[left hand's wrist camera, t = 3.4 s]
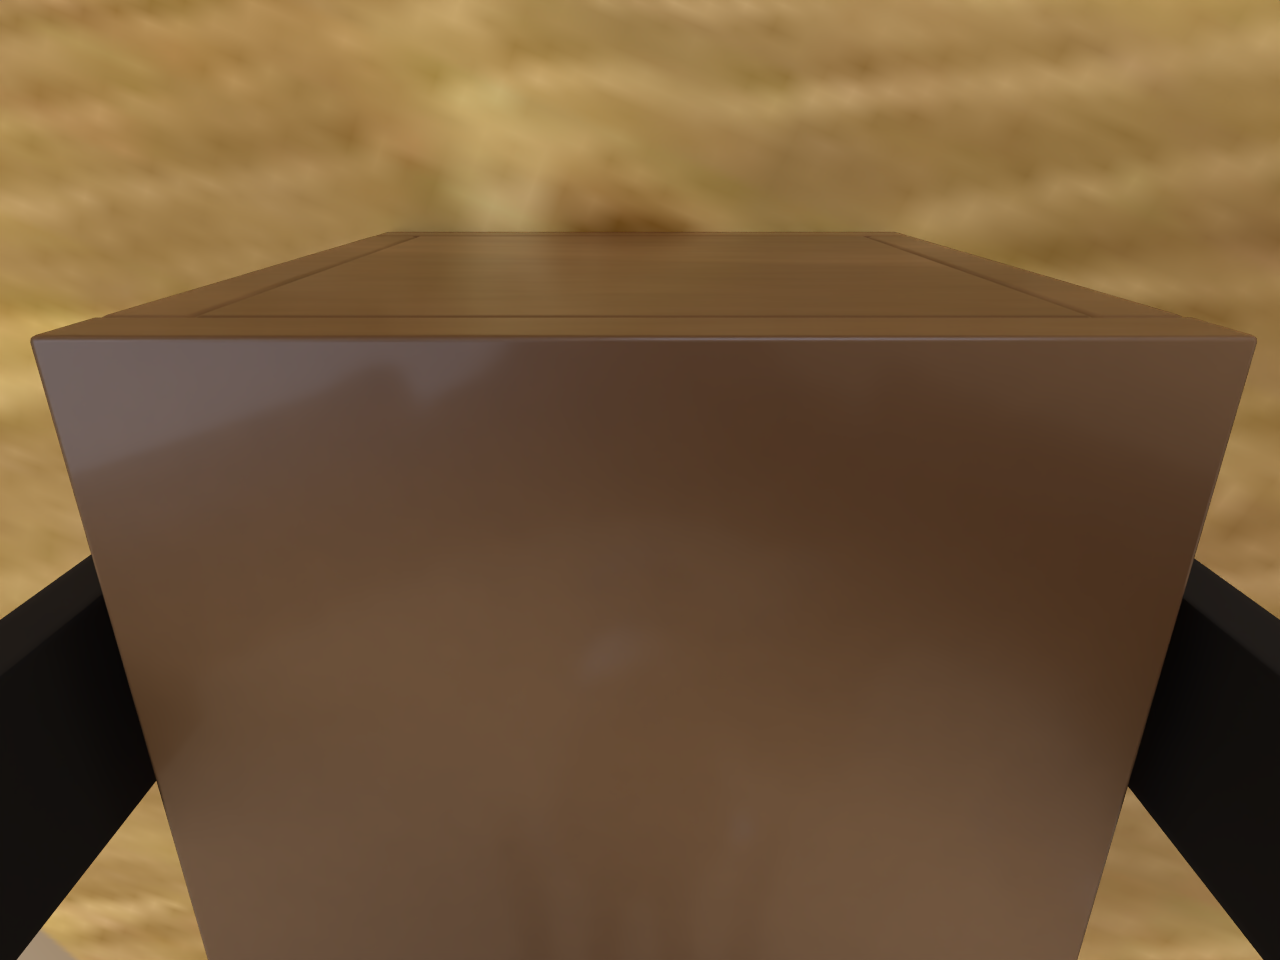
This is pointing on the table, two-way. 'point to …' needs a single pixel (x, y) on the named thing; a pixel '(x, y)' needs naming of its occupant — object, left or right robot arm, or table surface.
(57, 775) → the left robot arm
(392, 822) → the cabinet
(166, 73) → the table surface
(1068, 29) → the table surface
